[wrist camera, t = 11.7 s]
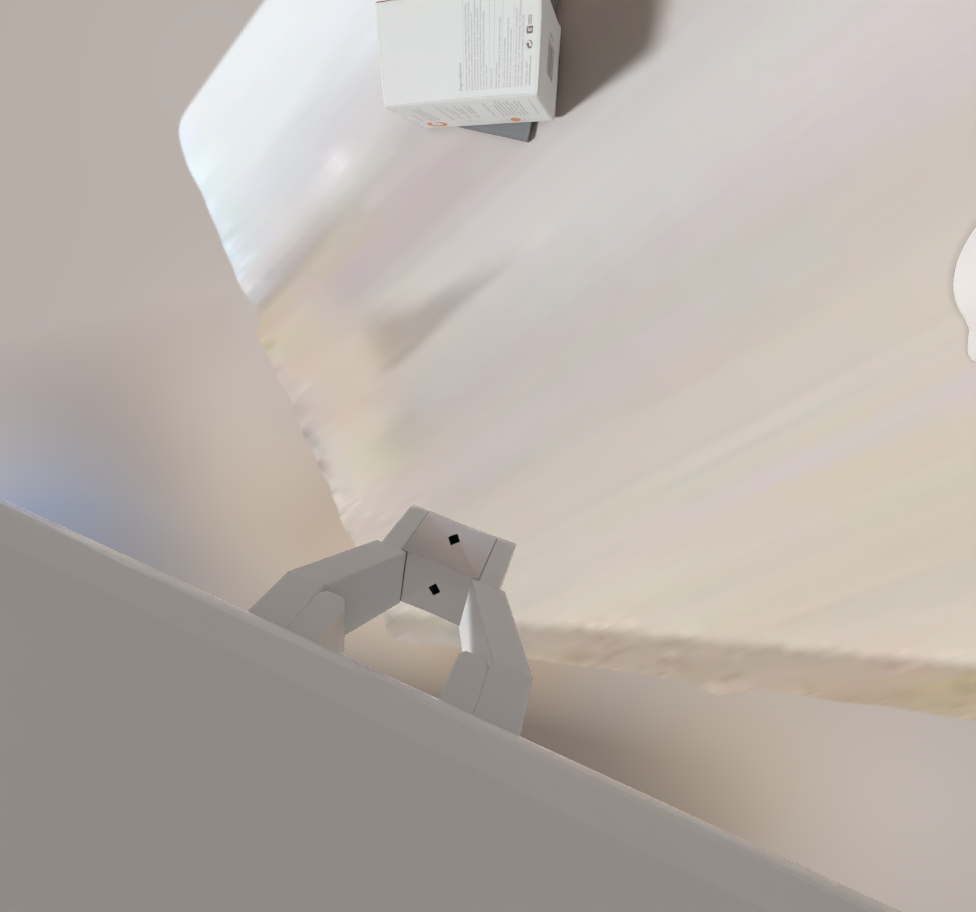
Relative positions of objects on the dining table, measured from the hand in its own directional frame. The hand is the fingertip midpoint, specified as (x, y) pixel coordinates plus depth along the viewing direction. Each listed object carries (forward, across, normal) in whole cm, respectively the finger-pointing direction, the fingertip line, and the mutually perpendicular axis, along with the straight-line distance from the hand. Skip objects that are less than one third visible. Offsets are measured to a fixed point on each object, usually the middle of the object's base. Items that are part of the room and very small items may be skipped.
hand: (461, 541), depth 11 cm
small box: (+35, +9, -18) cm, 40 cm away
